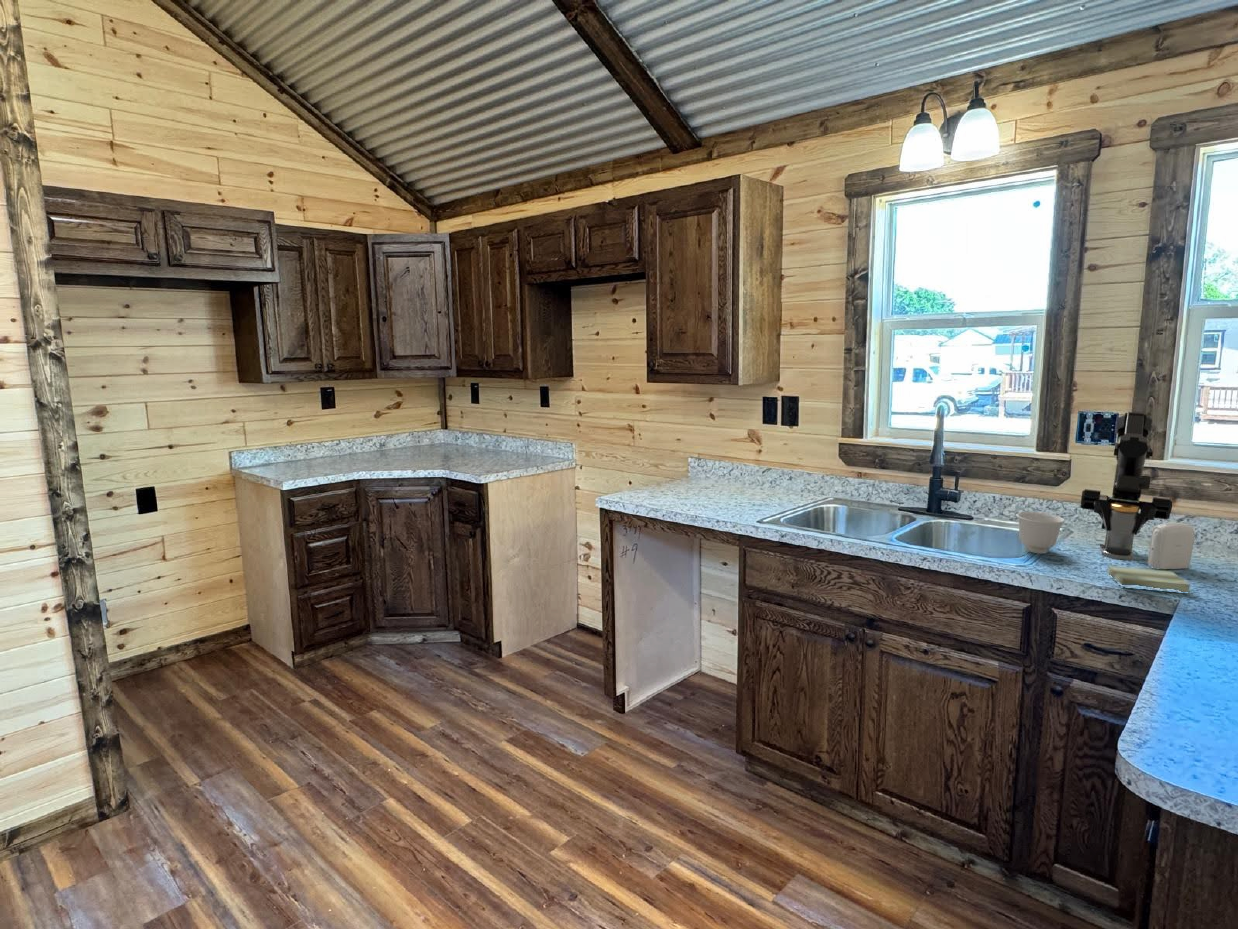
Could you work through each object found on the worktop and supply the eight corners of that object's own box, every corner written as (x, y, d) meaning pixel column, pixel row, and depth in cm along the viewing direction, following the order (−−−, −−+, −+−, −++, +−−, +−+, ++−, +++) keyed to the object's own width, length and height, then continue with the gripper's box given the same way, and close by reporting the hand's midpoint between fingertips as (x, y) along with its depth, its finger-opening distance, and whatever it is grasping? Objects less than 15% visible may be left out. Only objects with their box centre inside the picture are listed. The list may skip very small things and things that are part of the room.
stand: (1107, 575, 188) (1108, 565, 188) (1170, 580, 184) (1171, 571, 184) (1121, 588, 179) (1123, 578, 178) (1188, 594, 175) (1189, 584, 174)
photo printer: (1156, 570, 192) (1164, 525, 190) (1143, 565, 196) (1150, 521, 194) (1192, 569, 193) (1200, 525, 191) (1178, 564, 197) (1185, 520, 195)
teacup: (1060, 546, 213) (1064, 513, 211) (1060, 559, 200) (1065, 524, 198) (1013, 539, 219) (1017, 507, 217) (1011, 552, 206) (1015, 518, 204)
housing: (1095, 551, 185) (1102, 502, 183) (1122, 552, 185) (1129, 502, 183) (1112, 560, 179) (1119, 509, 176) (1140, 560, 179) (1148, 509, 176)
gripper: (1086, 458, 186) (1078, 509, 179) (1178, 467, 175) (1173, 521, 169) (1084, 482, 194) (1076, 532, 187) (1171, 492, 183) (1166, 545, 177)
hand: (1121, 532), depth 180 cm, fingers closed on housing, 5 cm apart
